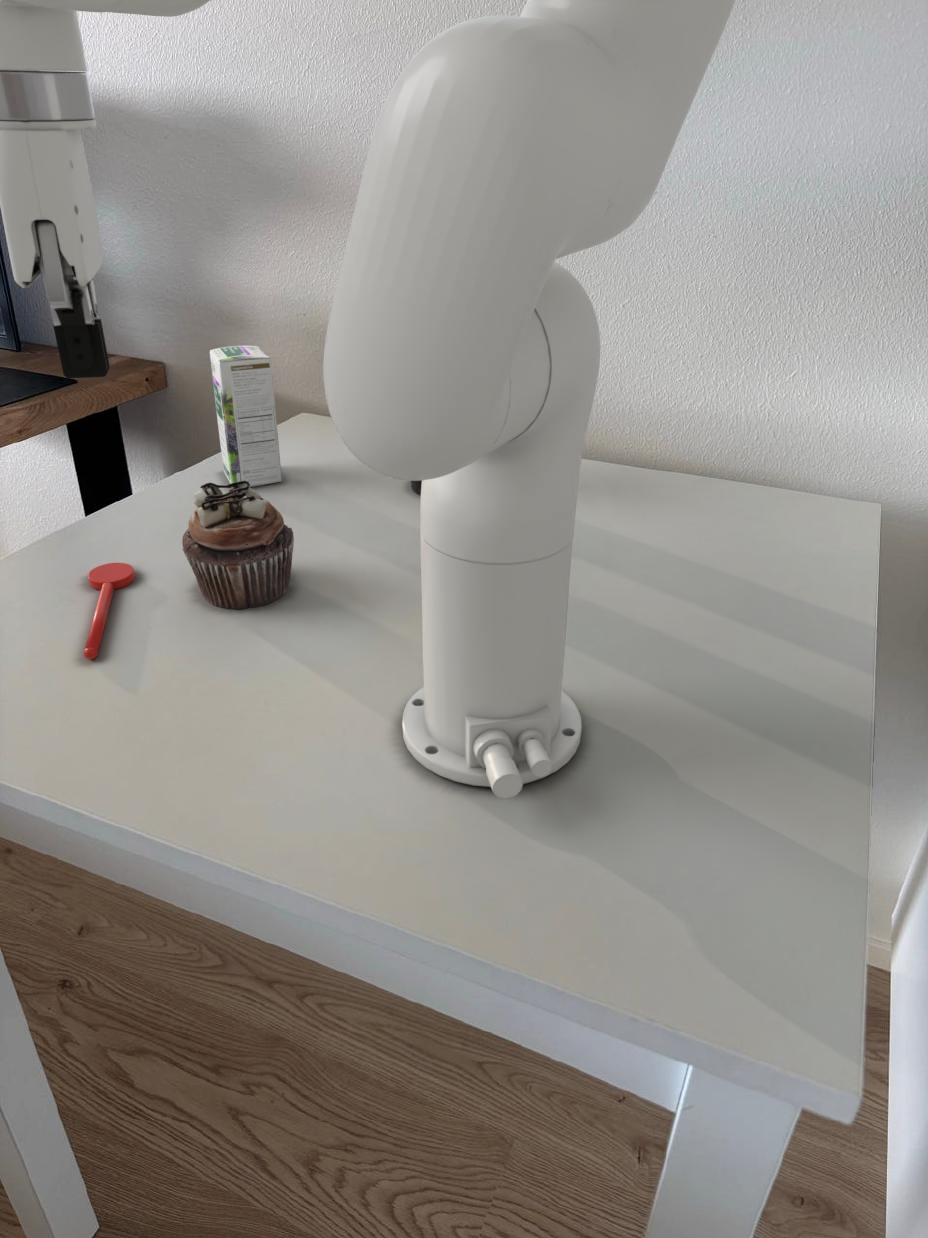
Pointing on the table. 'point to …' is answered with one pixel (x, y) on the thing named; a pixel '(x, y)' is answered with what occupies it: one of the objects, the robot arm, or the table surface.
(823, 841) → the table surface
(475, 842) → the table surface
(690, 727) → the table surface
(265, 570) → the cupcake
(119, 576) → the spoon
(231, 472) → the syrup box
